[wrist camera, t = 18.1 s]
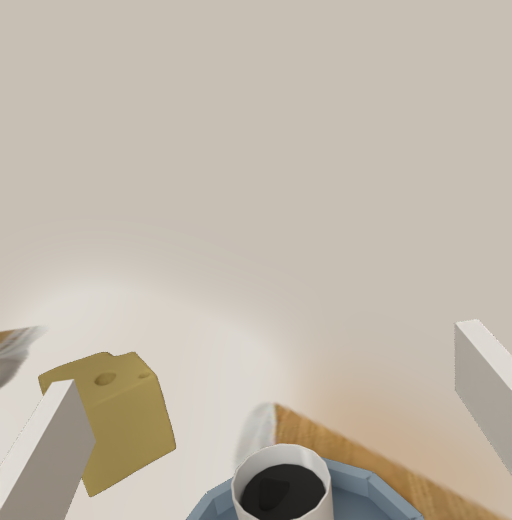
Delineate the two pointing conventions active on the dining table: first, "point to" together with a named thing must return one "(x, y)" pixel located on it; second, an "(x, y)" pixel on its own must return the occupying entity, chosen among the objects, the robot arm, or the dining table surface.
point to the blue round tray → (343, 496)
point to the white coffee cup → (283, 485)
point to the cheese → (118, 415)
